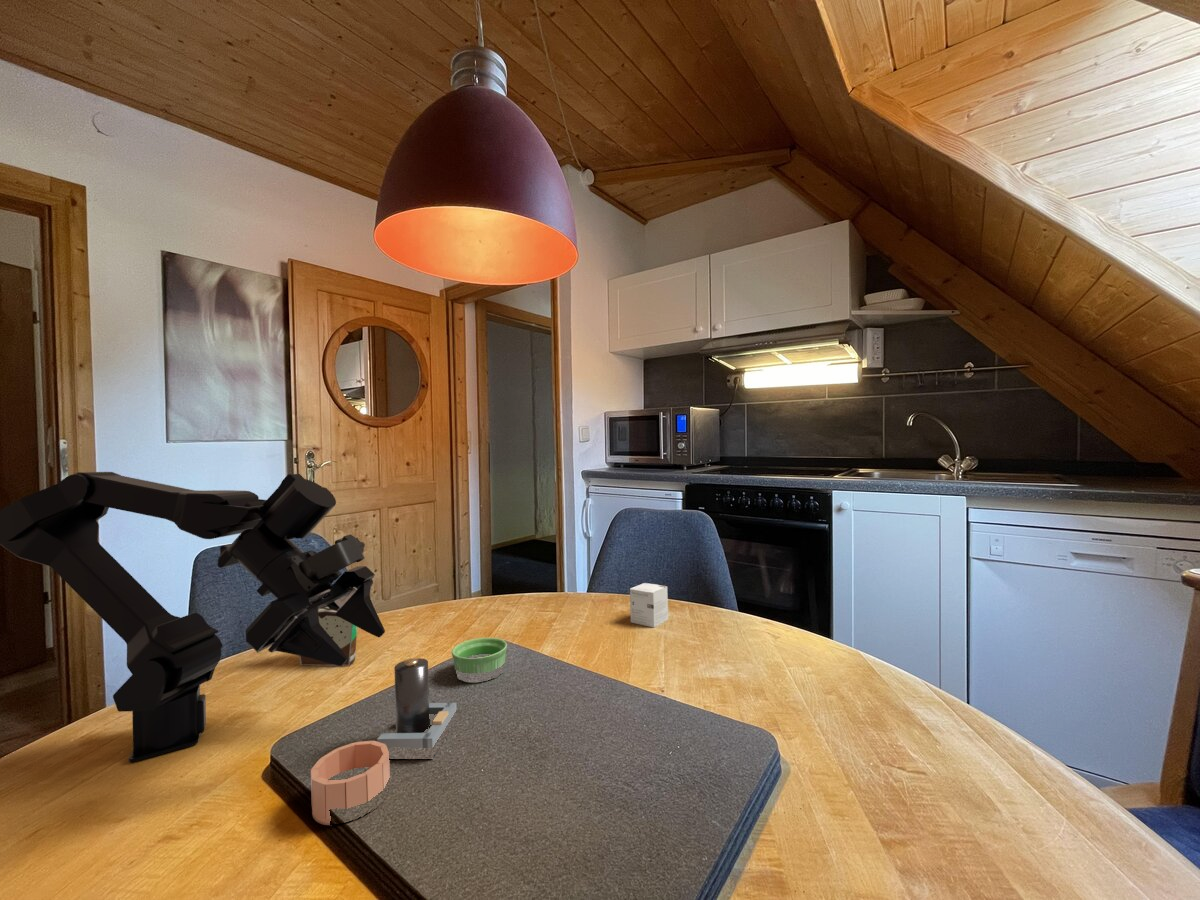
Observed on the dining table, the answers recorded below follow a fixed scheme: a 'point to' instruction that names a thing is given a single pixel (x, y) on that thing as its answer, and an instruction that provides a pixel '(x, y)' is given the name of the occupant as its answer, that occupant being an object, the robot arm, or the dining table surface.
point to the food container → (336, 636)
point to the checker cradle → (423, 739)
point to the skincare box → (649, 604)
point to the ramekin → (476, 648)
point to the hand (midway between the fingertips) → (364, 647)
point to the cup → (353, 788)
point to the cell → (412, 696)
